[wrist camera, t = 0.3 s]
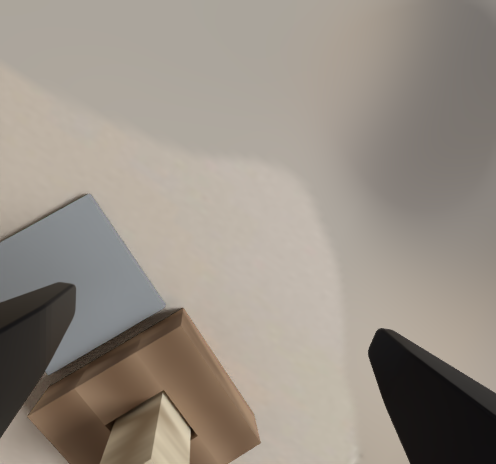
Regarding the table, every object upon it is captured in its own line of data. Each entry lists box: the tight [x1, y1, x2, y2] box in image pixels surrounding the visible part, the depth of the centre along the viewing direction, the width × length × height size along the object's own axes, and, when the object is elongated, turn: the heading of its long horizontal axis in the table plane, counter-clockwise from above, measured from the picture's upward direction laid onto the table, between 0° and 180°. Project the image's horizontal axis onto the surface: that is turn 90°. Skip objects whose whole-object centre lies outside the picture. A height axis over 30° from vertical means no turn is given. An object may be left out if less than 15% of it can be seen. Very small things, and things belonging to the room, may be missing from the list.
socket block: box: [27, 308, 261, 464], centre depth 23 cm, size 12×12×3 cm
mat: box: [0, 194, 166, 375], centre depth 22 cm, size 10×10×1 cm
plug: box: [100, 390, 191, 464], centre depth 20 cm, size 4×4×9 cm
